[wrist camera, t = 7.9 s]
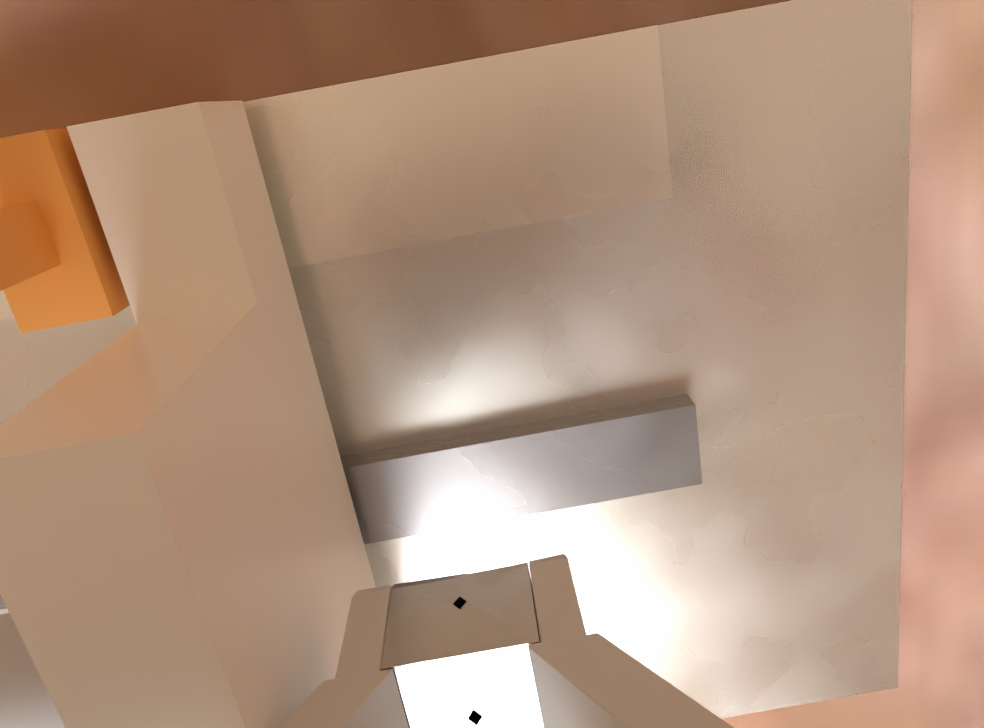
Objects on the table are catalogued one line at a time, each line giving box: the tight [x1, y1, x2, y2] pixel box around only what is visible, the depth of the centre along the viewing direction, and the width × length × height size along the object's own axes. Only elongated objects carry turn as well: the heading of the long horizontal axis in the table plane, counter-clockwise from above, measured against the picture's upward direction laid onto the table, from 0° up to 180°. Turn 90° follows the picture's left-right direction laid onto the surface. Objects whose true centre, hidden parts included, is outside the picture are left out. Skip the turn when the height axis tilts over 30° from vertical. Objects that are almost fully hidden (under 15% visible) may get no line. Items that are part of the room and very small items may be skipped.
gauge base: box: [0, 0, 912, 718], centre depth 12 cm, size 28×14×8 cm, turn 100°
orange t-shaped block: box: [0, 128, 130, 333], centre depth 9 cm, size 1×2×6 cm, turn 10°
